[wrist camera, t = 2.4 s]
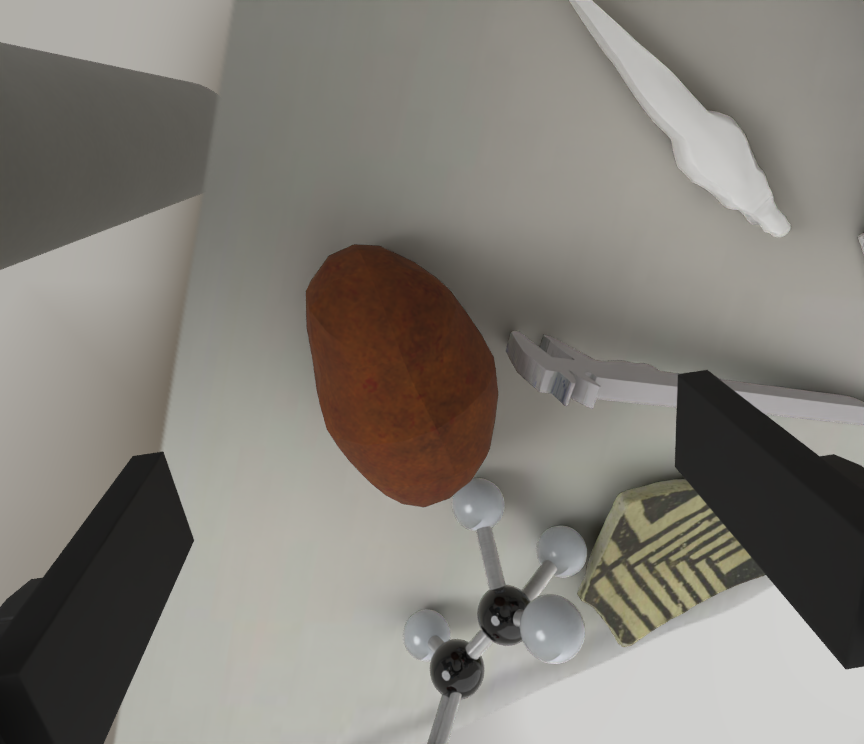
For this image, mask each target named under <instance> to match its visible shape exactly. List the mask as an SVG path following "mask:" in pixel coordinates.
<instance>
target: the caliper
mask: <svg viewBox="0 0 864 744" xmlns="http://www.w3.org/2000/svg"><path fill="white" fill-rule="evenodd" d="M506 352H507V354H508V357H509V358H510V360H511V362H512V364H513V366H514V367H515V369H516V371H517V372H518V373H519V374H520V375H521V376H522V377H523V378H524V379H525V380H527V381H528V382H529V383H530V384H531V385H532V386H533V387H534V388H536V389H537V390H538V391H539V392H544V393H552V394H553V395H554V396H555V397H556V398H557V399H558V400H559V401H560V402H562V403H563V404H564V405H565V406H568V404H569V401H570V398H572V399H573V400H575V401H577V402H579V403H581V404H583V405H585V406H587V407H589V408H592V409H593V407H594V405H595V402H596V399H599V400H608V401H618V402H627V403H637V404H646V405H656V406H665V407H675V408H676V407H677V384H678V374H679V373H671V372H664V371H660V370H658V369H656V368H655V367H653V366H652V365H649V364H645V363H631V362H627V361H622V360H617V361H600V360H594V359H592V358H591V357H589V356H587V355H585V354H583V353H581V352H580V351H578V350H576V349H574V348H572V347H570V346H568V345H567V344H565V343H563V342H561V341H559V340H557V339H555V338H553V337H550V336H548V335H543V338H542V341H541V344H540V347H538V346H537V345H536V344H535V343H533V342H532V341H531V340H529V339H528V338H527V337H526V336H524V335H523V334H522V333H521V332H520V331H512V332H511V334H510V338H509V341H508V345H507V348H506ZM720 380H721V381H722V382H724V383H725V384H726V385H728V386H729V387H730V388H731V389H733V390H734V391H735V392H737V393H738V394H739V395H740V396H742V397H743V398H744V399H746V400H747V401H748V402H750V403H751V404H752V405H753V406H755V407H756V408H757V409H759V410H760V411H761V412H763V413H764V414H767V415H776V416H785V417H793V418H802V419H811V420H820V421H829V422H838V423H847V424H856V425H864V401H860V400H858V399H856V398H854V397H851V396H845V395H837V394H829V393H822V392H814V391H806V390H799V389H791V388H783V387H776V386H768V385H760V384H753V383H745V382H738V381H731V380H723V379H720Z"/></svg>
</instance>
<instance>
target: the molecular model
mask: <svg viewBox="0 0 864 744" xmlns="http://www.w3.org/2000/svg"><path fill="white" fill-rule="evenodd" d="M504 507H505V503H504V498H503V495H502V493H501V491H500V489H499V488H498V487H497V486H496V485H495V484H494V483H493V482H491V481H489V480H487V479H483V478H473V479H472V480H471V482H469V483H468V484H467V485H465V486H464V487H463V488H462V489H460V490H459V491H458V492H456V493H455V494H454V496H453V499H452V509H453V513H454V516H455V518H456V519H457V521H458V522H459V523H460V524H461V525H462V526H463V527H465V528H466V529H469V530H471V531H476V533H477V537H478V541H479V546H480V550H481V555H482V559H483V563H484V568H485V572H486V577H487V581H488V586H489V590H488V591H487V592H486V593H485V594H484V595H483V597H482V598H481V600H480V603H479V606H478V612H477V616H478V622H479V625H480V628H481V630H480V631H479V632H478V633H477V634H476V635H475V636H474V637H473V639H472V640H471V641H470V642H467V641H465V640H461V639H452V640H450V638H451V633H450V627H449V625H448V622H447V621H446V619H445V618H444V617H443V616H442V615H441V614H440V613H438V612H436V611H434V610H429V609H424V610H420V611H417V612H416V613H414V614H413V615H411V616H410V618H409V619H408V620H407V622H406V624H405V626H404V630H403V641H404V645H405V647H406V649H407V651H408V652H409V653H410V654H411V655H412V656H413V657H414V658H416V659H418V660H421V661H431V662H430V676H431V680H432V682H433V684H434V686H435V688H436V689H437V690H438V691H439V692H440V693H441V694H442V697H441V700H440V704H439V707H438V710H437V713H436V717H435V720H434V723H433V726H432V730H431V733H430V736H429V739H428V743H427V744H448V742H449V738H450V735H451V731H452V728H453V724H454V721H455V717H456V713H457V710H458V706H459V703H460V700H461V699H465V698H468V697H470V696H471V695H473V694H474V693H475V692H476V691H477V690H478V689H479V687H480V685H481V683H482V681H483V677H484V662H483V659H482V656H481V655H482V654H483V653H484V652H485V651H486V649H487V648H488V647H489V646H490V645H491V644H492V643H493V642H494V643H496V644H499V645H504V646H511V645H515V644H518V643H520V642H522V641H523V643H524V645H525V647H526V648H527V650H528V651H529V652H530V653H531V654H532V655H533V656H534V657H536V658H537V659H539V660H541V661H543V662H546V663H550V664H559V663H564V662H566V661H568V660H570V659H572V658H573V657H574V656H575V655H576V654H577V653H578V652H579V650H580V649H581V647H582V645H583V642H584V638H585V626H584V621H583V618H582V616H581V614H580V612H579V611H578V609H577V608H576V607H575V605H574V604H573V603H571V602H570V601H569V600H567V599H566V598H564V597H561V596H558V595H553V594H547V595H542V596H539V595H540V593H541V592H542V591H543V589H544V588H545V586H546V585H547V584H548V582H549V581H550V580H551V578H552V577H553V576H556V577H561V578H565V577H570V576H573V575H575V574H577V573H578V572H579V571H580V570H581V569H582V568H583V566H584V565H585V562H586V559H587V547H586V543H585V541H584V539H583V538H582V536H581V535H580V534H579V533H578V532H577V531H576V530H574V529H572V528H570V527H567V526H561V525H559V526H553V527H550V528H548V529H547V530H545V531H544V532H543V533H542V534H541V536H540V537H539V539H538V542H537V546H536V554H537V558H538V561H539V563H540V565H541V566H540V567H539V568H538V570H537V571H536V572H535V574H534V575H533V576H532V577H531V579H530V580H529V581H528V583H527V584H526V585H525V587H524V588H523V589H522V590H520V589H519V588H517V587H514V586H511V585H505V581H504V576H503V572H502V568H501V564H500V560H499V556H498V551H497V547H496V543H495V539H494V535H493V530H492V528H493V527H494V526H495V525H496V524H497V523H498V522H499V521H500V519H501V518H502V516H503V513H504ZM538 596H539V597H538Z"/></svg>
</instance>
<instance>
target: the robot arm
mask: <svg viewBox="0 0 864 744" xmlns="http://www.w3.org/2000/svg"><path fill="white" fill-rule="evenodd" d="M675 467H676V469H677V470H678V471H679V472H680V473H681V474H682V476H683V477H684V478H685V479H686V480H687V482H688V483H689V484H690V485H691V486H692V488H693V489H694V490H695V491H696V492H697V493H698V495H699V496H700V497H701V498H702V499H703V501H704V502H705V503H706V504H707V505H708V507H709V508H710V509H711V510H712V511H713V512H714V514H715V515H716V516H717V517H718V518H719V520H720V521H721V522H722V523H723V524H724V526H725V527H726V528H727V529H728V530H729V531H730V533H731V534H732V535H733V536H734V537H735V539H736V540H737V541H738V542H739V543H740V544H741V546H742V547H743V548H744V549H745V550H746V552H747V553H748V554H749V555H750V556H751V558H752V559H753V560H754V561H755V562H756V563H757V565H758V566H759V567H760V568H761V569H762V571H763V572H764V573H765V574H766V575H767V577H768V578H769V579H770V580H771V581H772V582H773V584H774V585H775V586H776V587H777V588H778V589H779V591H780V592H781V593H782V594H783V595H784V597H785V598H786V599H787V600H788V601H789V602H790V604H791V605H792V606H793V607H794V608H795V610H796V611H797V612H798V613H799V614H800V616H801V617H802V618H803V619H804V620H805V621H806V623H807V624H808V625H809V626H810V628H811V629H812V630H813V631H814V632H815V633H816V635H817V636H818V637H819V638H820V639H821V641H822V642H823V643H824V644H825V645H826V646H827V648H828V649H829V650H830V651H831V652H832V654H833V655H834V656H835V657H836V658H837V660H838V661H839V662H840V663H841V664H842V665H843V667H844V668H845V669H851V668H857V667H863V666H864V467H862V466H861V465H858V464H856V463H853V462H851V461H849V460H846V459H844V458H841V457H839V456H836V455H834V454H833V455H826V456H818V455H817V454H816V453H814V452H813V451H812V450H810V449H809V448H808V447H807V446H805V445H804V444H803V443H801V442H800V441H799V440H798V439H796V438H795V437H794V436H792V435H791V434H790V433H788V432H787V431H786V430H785V429H783V428H782V427H781V426H779V425H778V424H777V423H775V422H774V421H773V420H772V419H770V418H769V417H768V416H766V415H765V414H764V413H763V412H761V411H760V410H759V409H757V408H756V407H755V406H753V405H752V404H751V403H750V402H748V401H747V400H746V399H744V398H743V397H742V396H740V395H739V394H738V393H737V392H735V391H734V390H733V389H731V388H730V387H729V386H728V385H726V384H725V383H724V382H722V381H721V380H720V379H718V378H717V377H716V376H715V375H713V374H712V373H711V372H709V371H708V370H703V371H697V372H690V373H683V374H678V384H677V415H676V447H675ZM193 542H194V539H193V536H192V533H191V530H190V527H189V524H188V521H187V518H186V516H185V513H184V510H183V507H182V504H181V501H180V498H179V495H178V493H177V490H176V487H175V484H174V481H173V478H172V475H171V472H170V470H169V467H168V464H167V461H166V458H165V455H164V452H157V453H151V454H144V455H137V456H133V457H132V458H131V459H130V461H129V462H128V463H127V465H126V466H125V467H124V469H123V470H122V471H121V473H120V474H119V476H118V477H117V478H116V479H115V481H114V482H113V484H112V485H111V486H110V488H109V489H108V491H107V492H106V493H105V494H104V496H103V497H102V499H101V500H100V501H99V502H98V504H97V505H96V507H95V508H94V509H93V511H92V512H91V514H90V515H89V516H88V518H87V519H86V520H85V521H84V523H83V524H82V525H81V527H80V528H79V530H78V531H77V532H76V534H75V535H74V536H73V538H72V539H71V541H70V542H69V543H68V544H67V546H66V547H65V548H64V550H63V551H62V553H61V554H60V555H59V557H58V558H57V559H56V561H55V562H54V563H53V565H52V566H51V567H50V569H49V570H48V571H47V573H46V574H45V576H44V577H43V578H37V579H31V580H30V581H28V582H27V583H26V584H25V585H24V586H22V587H21V588H20V589H19V590H18V591H16V592H15V593H14V594H13V595H11V596H10V597H9V598H8V599H6V601H5V602H4V603H3V604H2V606H1V607H0V744H104V741H105V739H106V737H107V735H108V732H109V730H110V728H111V726H112V723H113V721H114V719H115V717H116V714H117V712H118V710H119V708H120V705H121V703H122V701H123V699H124V696H125V694H126V692H127V690H128V687H129V685H130V683H131V681H132V678H133V676H134V674H135V672H136V670H137V667H138V665H139V663H140V661H141V658H142V656H143V654H144V652H145V649H146V647H147V645H148V643H149V640H150V638H151V636H152V634H153V631H154V629H155V627H156V625H157V622H158V620H159V618H160V616H161V613H162V611H163V609H164V607H165V604H166V602H167V600H168V598H169V595H170V593H171V591H172V589H173V587H174V584H175V582H176V580H177V578H178V575H179V573H180V571H181V569H182V566H183V564H184V562H185V560H186V557H187V555H188V553H189V551H190V548H191V546H192V544H193Z"/></svg>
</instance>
